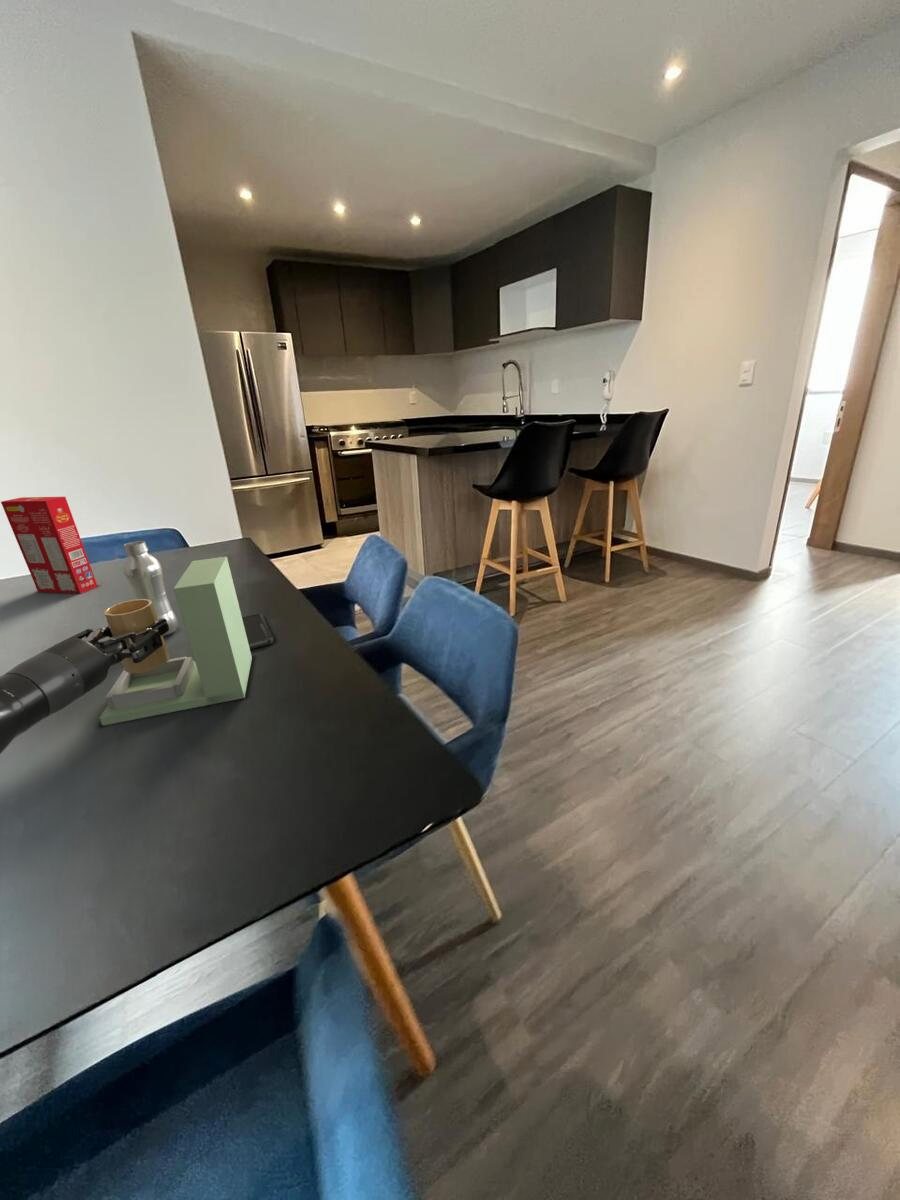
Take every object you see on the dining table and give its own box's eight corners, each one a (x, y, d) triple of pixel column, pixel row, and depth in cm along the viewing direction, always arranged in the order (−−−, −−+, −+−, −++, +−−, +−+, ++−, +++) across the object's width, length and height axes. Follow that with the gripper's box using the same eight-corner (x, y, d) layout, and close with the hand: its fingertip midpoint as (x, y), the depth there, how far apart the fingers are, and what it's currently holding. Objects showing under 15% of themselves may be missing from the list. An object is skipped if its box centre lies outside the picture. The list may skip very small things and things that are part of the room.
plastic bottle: (139, 637, 104) (108, 546, 96) (171, 624, 109) (144, 537, 101) (154, 644, 100) (123, 550, 92) (186, 631, 105) (159, 540, 97)
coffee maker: (102, 726, 75) (53, 605, 67) (130, 679, 87) (92, 574, 79) (244, 698, 79) (214, 582, 72) (252, 658, 92) (226, 556, 84)
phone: (231, 649, 93) (223, 621, 105) (232, 654, 94) (224, 626, 106) (273, 638, 96) (261, 612, 109) (275, 643, 97) (262, 617, 109)
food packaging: (97, 586, 136) (65, 496, 127) (80, 593, 132) (45, 500, 122) (56, 585, 140) (21, 497, 130) (38, 592, 135) (0, 501, 126)
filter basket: (118, 676, 76) (97, 618, 72) (131, 657, 82) (112, 602, 78) (163, 668, 78) (144, 611, 74) (173, 650, 84) (156, 596, 80)
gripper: (92, 654, 62) (179, 602, 77) (-2, 652, 64) (100, 602, 80) (112, 704, 65) (192, 644, 80) (21, 700, 67) (115, 643, 82)
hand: (146, 623), depth 80 cm, fingers closed on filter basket, 6 cm apart
